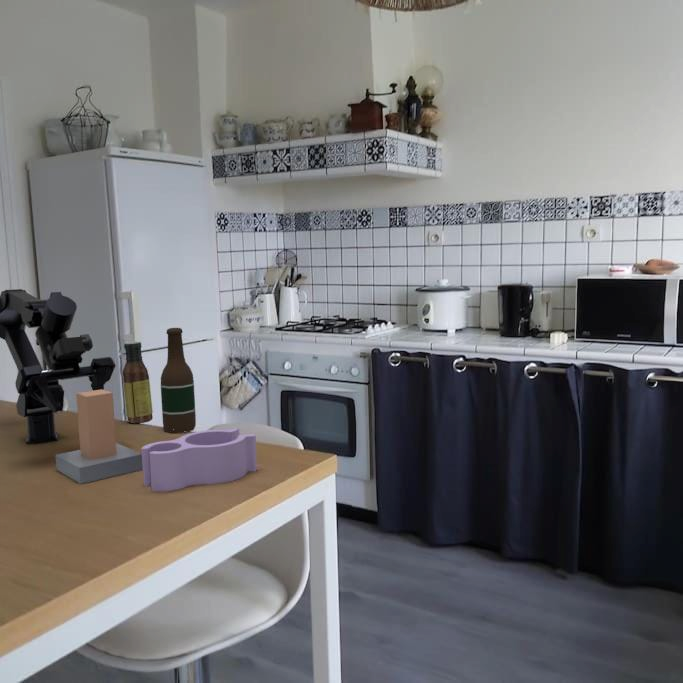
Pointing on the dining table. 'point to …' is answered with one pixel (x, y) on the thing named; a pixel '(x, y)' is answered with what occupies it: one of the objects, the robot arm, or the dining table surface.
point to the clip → (198, 459)
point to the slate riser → (98, 464)
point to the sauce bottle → (136, 385)
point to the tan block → (96, 424)
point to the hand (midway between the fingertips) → (79, 407)
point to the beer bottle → (177, 388)
